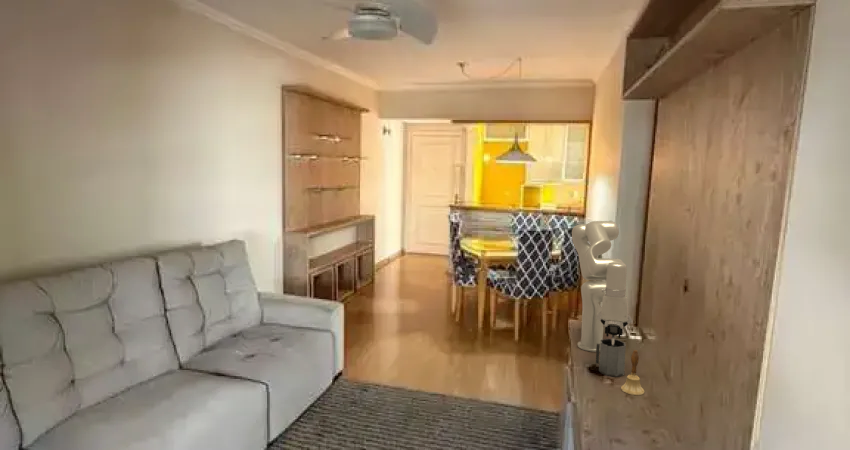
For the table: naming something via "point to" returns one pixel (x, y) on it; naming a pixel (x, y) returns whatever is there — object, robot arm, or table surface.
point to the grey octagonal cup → (611, 357)
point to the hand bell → (633, 378)
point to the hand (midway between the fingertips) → (613, 335)
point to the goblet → (613, 331)
